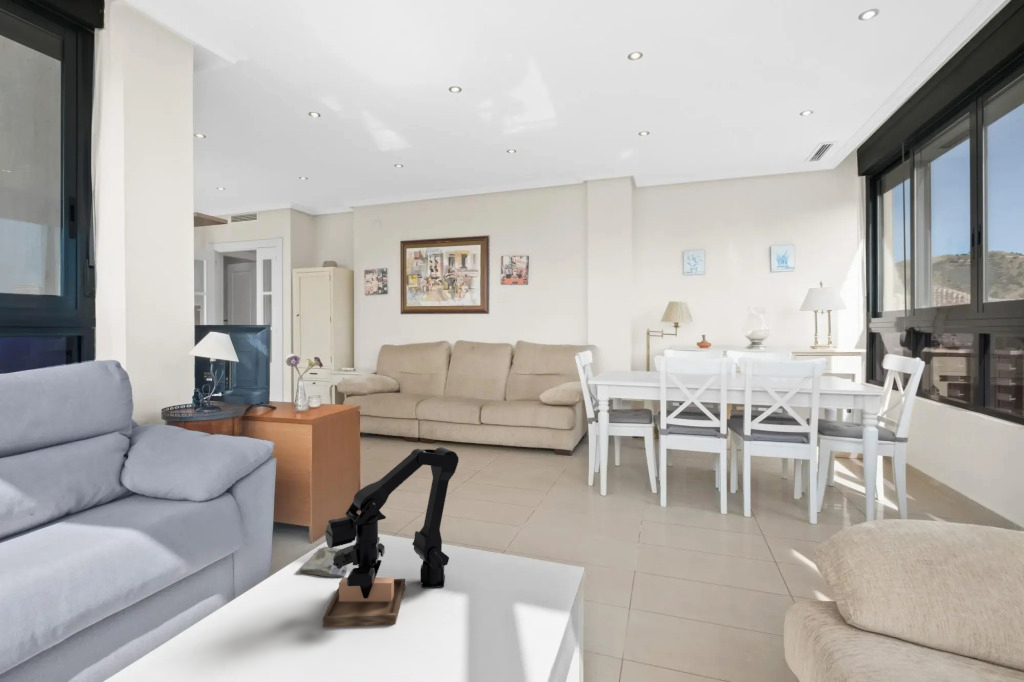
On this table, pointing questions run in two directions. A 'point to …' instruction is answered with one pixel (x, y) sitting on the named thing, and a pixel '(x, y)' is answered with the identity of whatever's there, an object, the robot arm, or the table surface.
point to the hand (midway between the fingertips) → (367, 594)
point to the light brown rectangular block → (379, 591)
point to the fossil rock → (323, 564)
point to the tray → (364, 610)
